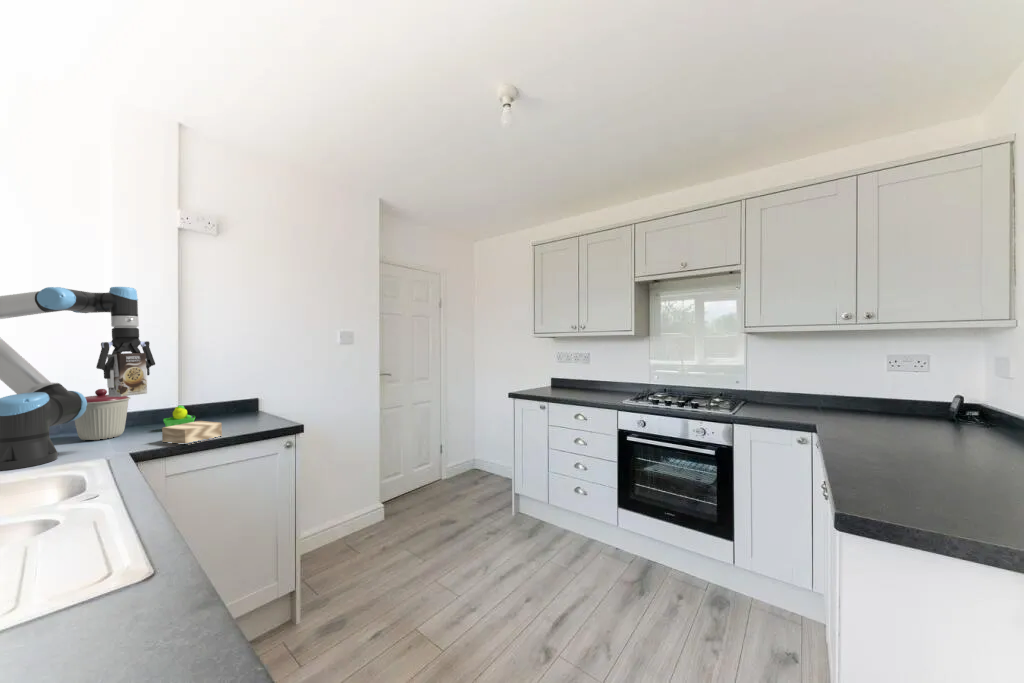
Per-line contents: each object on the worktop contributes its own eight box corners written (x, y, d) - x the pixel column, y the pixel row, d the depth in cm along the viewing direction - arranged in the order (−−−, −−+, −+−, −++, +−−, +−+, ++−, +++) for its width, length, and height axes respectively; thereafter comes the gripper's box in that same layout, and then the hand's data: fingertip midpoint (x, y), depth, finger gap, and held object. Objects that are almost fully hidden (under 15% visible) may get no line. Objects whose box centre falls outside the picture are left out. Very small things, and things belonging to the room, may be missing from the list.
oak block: (185, 445, 155) (184, 429, 155) (162, 442, 160) (162, 427, 160) (221, 436, 169) (221, 422, 169) (199, 434, 173) (199, 420, 173)
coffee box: (120, 397, 147) (118, 353, 147) (107, 397, 148) (105, 354, 148) (148, 393, 156) (146, 352, 156) (135, 393, 157) (133, 352, 157)
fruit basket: (195, 425, 193) (194, 402, 193) (195, 428, 186) (195, 404, 186) (163, 429, 185) (163, 405, 185) (163, 432, 178) (162, 407, 178)
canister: (142, 433, 177) (141, 386, 177) (96, 443, 159) (95, 391, 159) (106, 432, 179) (105, 386, 179) (57, 443, 161) (56, 391, 161)
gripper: (91, 326, 140) (94, 389, 140) (165, 327, 161) (167, 382, 161) (80, 327, 143) (83, 389, 143) (154, 328, 163) (156, 382, 164)
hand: (128, 385), depth 152 cm, fingers closed on coffee box, 9 cm apart
